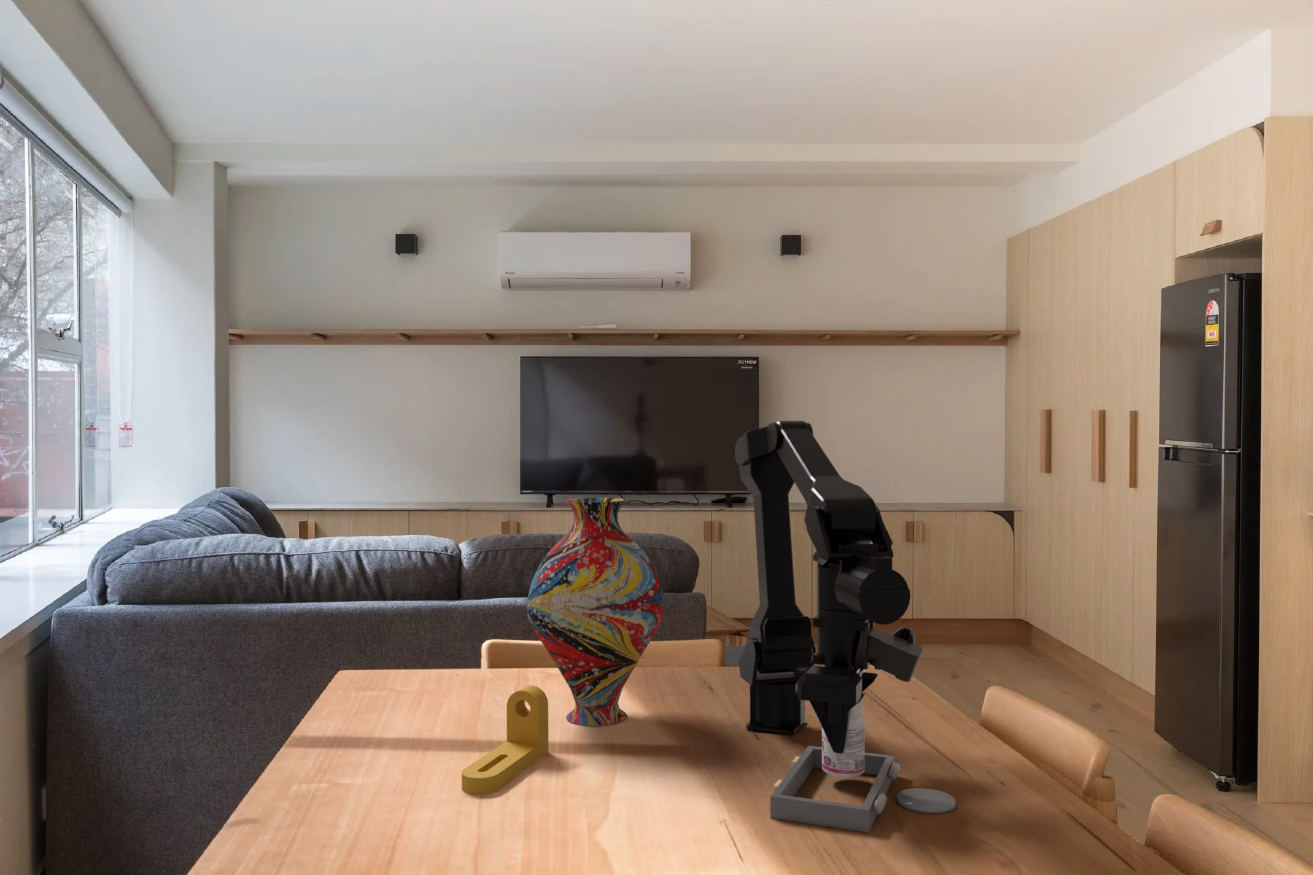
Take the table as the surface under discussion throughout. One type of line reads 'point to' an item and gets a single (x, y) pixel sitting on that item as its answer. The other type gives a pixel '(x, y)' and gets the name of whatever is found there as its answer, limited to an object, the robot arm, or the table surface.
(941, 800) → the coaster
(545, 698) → the bracket
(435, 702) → the table surface
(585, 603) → the vase
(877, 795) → the gray rectangular frame
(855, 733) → the pill bottle
